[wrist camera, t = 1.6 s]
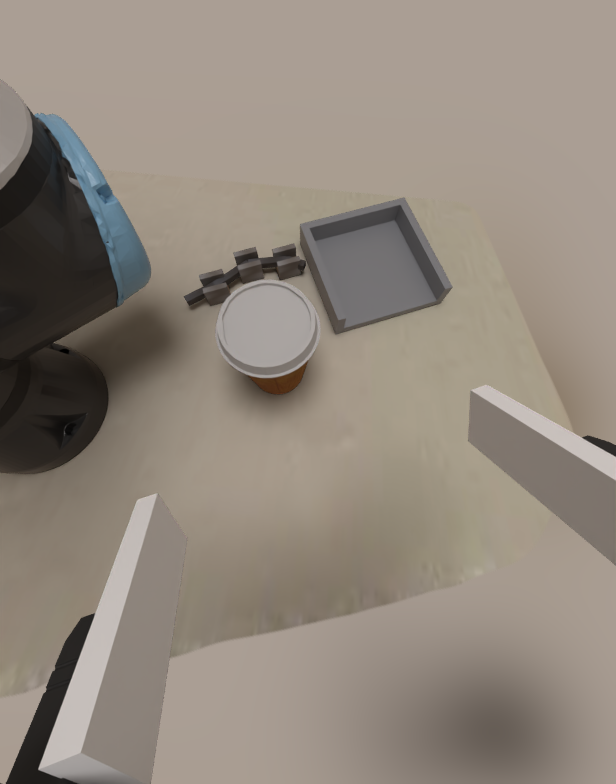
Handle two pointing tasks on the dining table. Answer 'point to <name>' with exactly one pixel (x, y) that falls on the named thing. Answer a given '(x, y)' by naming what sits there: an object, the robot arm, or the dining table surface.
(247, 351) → the disposable coffee cup
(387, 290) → the end holder
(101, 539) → the dining table surface
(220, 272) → the clip strip
